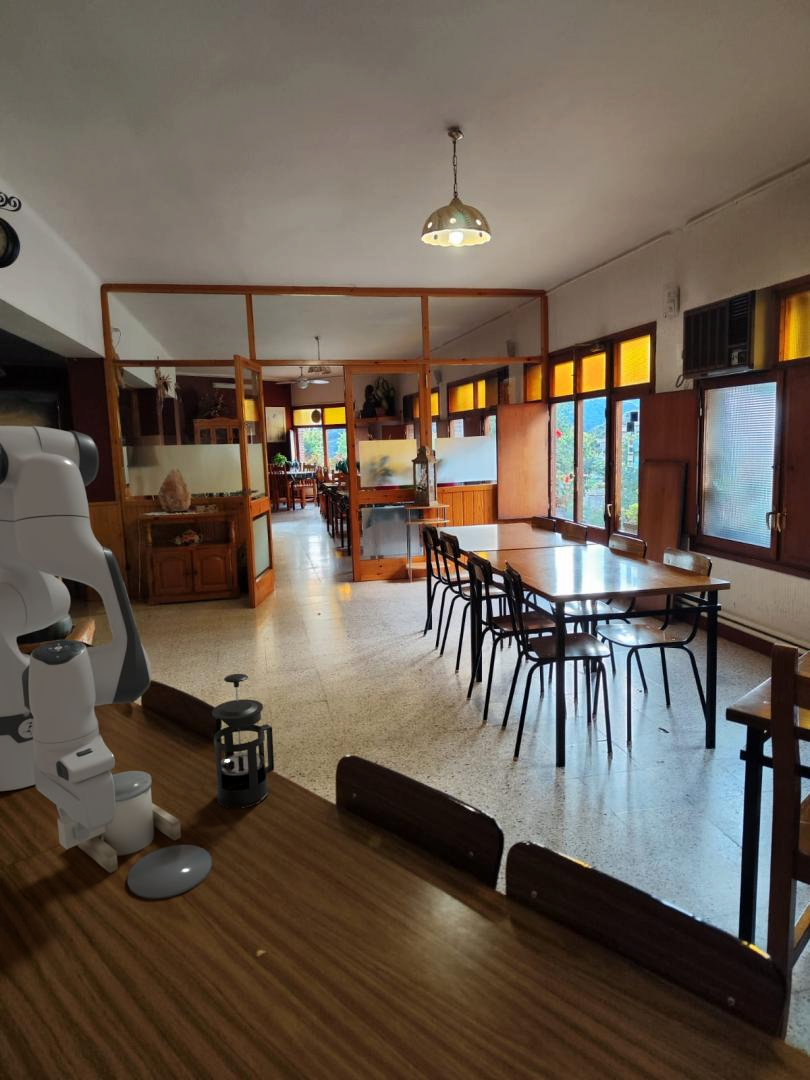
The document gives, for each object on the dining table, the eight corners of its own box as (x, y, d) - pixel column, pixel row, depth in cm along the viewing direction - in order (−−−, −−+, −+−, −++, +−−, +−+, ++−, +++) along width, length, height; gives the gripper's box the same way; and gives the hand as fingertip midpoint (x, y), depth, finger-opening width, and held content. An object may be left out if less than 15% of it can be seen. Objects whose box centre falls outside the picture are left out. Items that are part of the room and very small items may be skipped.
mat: (112, 875, 99) (112, 872, 99) (184, 839, 108) (184, 836, 108) (154, 910, 92) (153, 906, 92) (227, 868, 101) (227, 864, 101)
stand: (75, 844, 108) (73, 826, 107) (144, 812, 117) (142, 796, 116) (110, 873, 100) (108, 854, 100) (181, 837, 109) (179, 820, 109)
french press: (228, 816, 115) (220, 690, 112) (204, 796, 122) (196, 677, 119) (286, 792, 123) (280, 673, 120) (260, 774, 130) (254, 662, 127)
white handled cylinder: (139, 820, 114) (135, 766, 113) (165, 838, 109) (161, 781, 107) (53, 860, 104) (47, 800, 102) (77, 881, 98) (71, 819, 97)
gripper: (18, 737, 104) (27, 819, 106) (76, 777, 91) (84, 869, 93) (60, 724, 109) (67, 802, 111) (120, 760, 96) (127, 848, 98)
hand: (76, 833), depth 102 cm, fingers closed on white handled cylinder, 2 cm apart
